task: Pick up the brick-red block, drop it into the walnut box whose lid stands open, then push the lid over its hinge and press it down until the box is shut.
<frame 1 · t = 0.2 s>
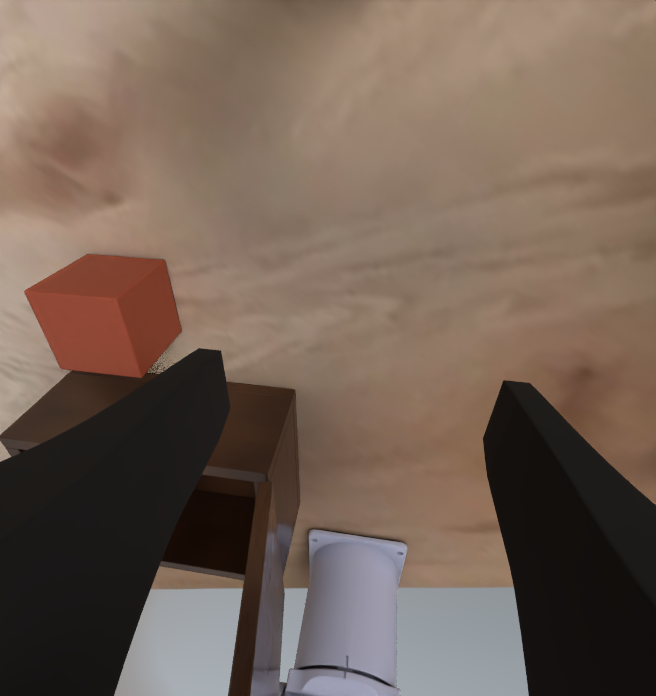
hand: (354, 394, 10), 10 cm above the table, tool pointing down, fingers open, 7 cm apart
chest: (198, 439, 28), on the table
block: (136, 294, 22), on the table
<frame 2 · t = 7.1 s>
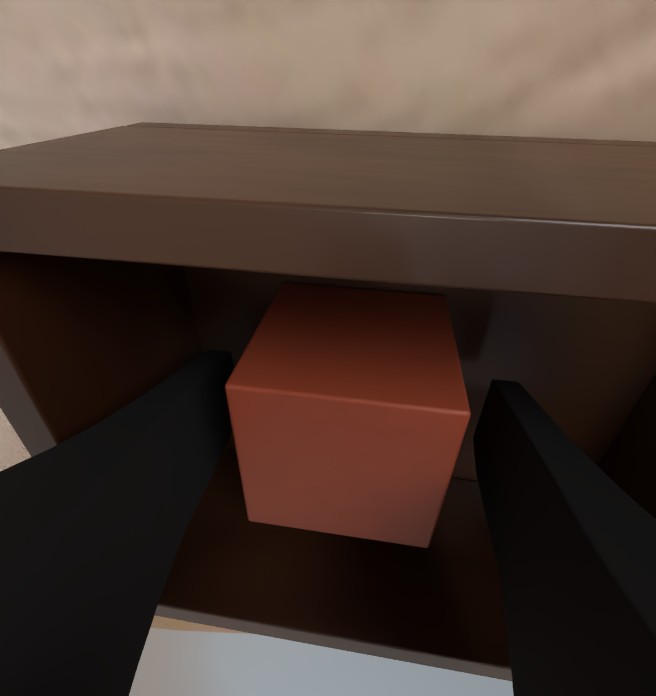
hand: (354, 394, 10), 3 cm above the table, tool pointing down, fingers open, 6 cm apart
chest: (409, 345, 12), on the table
block: (357, 354, 12), point 1 cm above the table, touching chest
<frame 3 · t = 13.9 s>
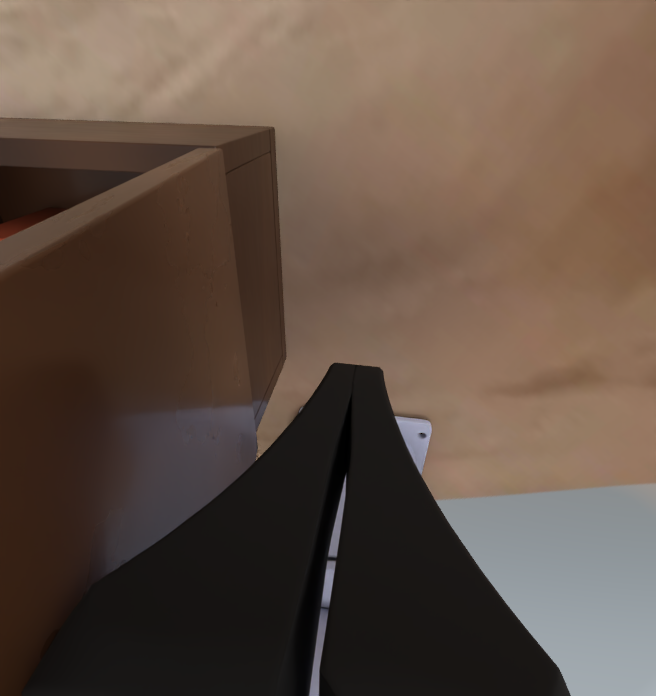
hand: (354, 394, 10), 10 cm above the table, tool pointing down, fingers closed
chest: (142, 251, 20), on the table
chest lid: (149, 547, 7), point 14 cm above the table, hinge at 97.9°, touching gripper
block: (104, 254, 20), point 1 cm above the table, touching chest
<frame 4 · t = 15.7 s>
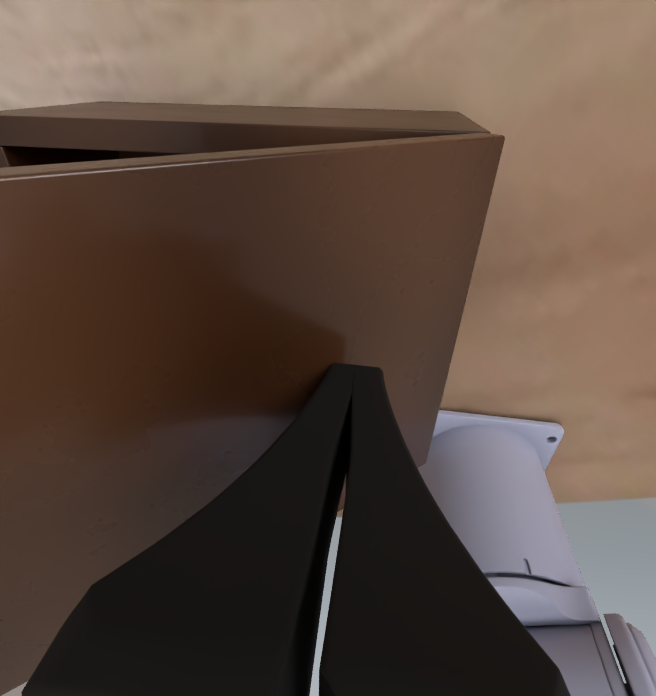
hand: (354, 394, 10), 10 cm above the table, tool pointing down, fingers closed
chest: (278, 247, 19), on the table
chest lid: (211, 427, 9), point 12 cm above the table, hinge at 39.5°, touching gripper
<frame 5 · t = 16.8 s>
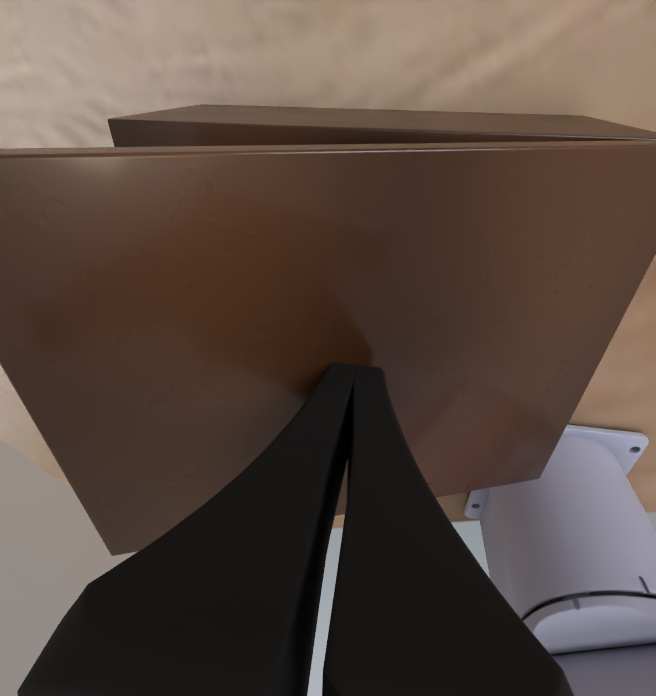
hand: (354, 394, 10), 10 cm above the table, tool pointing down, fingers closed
chest: (370, 254, 18), on the table
chest lid: (352, 381, 11), point 9 cm above the table, hinge at 20.1°
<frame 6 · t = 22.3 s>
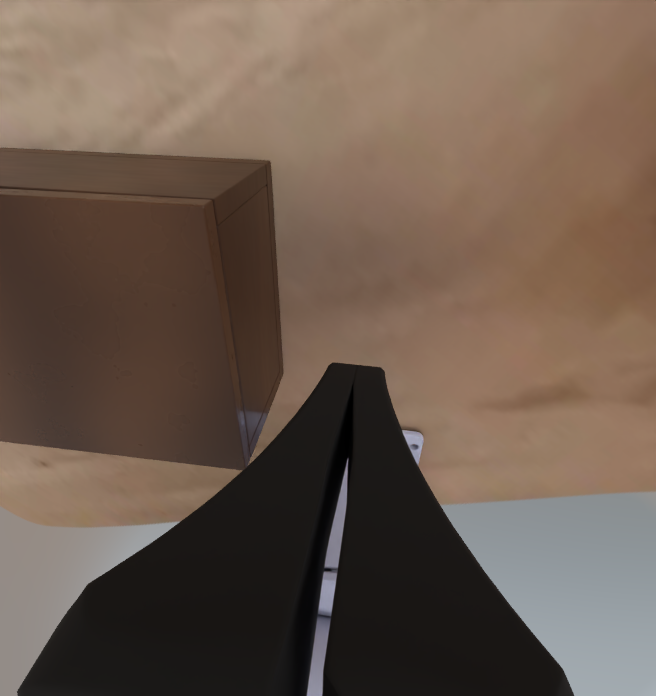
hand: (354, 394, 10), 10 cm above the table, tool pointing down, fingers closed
chest: (144, 273, 21), on the table
chest lid: (41, 345, 15), point 7 cm above the table, hinge at 1.2°
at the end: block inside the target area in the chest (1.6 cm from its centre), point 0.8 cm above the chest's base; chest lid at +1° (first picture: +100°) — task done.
